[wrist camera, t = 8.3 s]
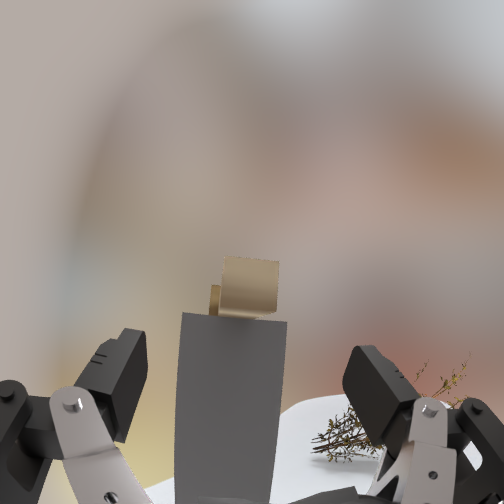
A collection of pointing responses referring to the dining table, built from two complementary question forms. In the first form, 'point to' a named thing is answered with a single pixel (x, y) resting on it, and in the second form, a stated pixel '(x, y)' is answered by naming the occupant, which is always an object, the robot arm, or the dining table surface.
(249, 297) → the hanging bar
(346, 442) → the dried plant
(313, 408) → the dining table surface
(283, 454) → the dining table surface
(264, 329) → the plinth
